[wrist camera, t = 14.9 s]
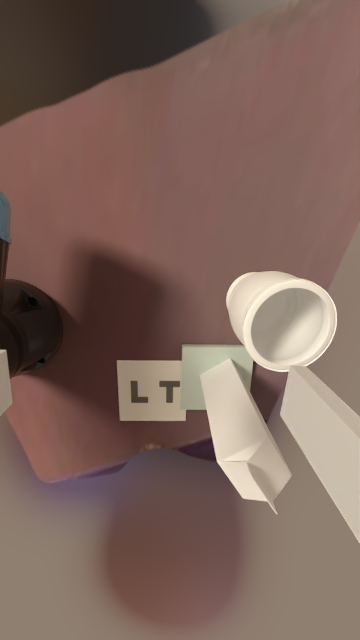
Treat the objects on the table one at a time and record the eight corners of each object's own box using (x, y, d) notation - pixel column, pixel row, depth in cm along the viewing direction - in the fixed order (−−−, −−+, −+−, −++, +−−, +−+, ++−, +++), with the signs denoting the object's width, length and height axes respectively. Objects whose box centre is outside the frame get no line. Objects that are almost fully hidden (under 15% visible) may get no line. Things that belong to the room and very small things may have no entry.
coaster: (180, 406, 49) (180, 409, 48) (182, 344, 45) (182, 346, 45) (246, 406, 49) (247, 409, 48) (252, 345, 46) (254, 347, 45)
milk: (229, 357, 45) (281, 459, 24) (246, 384, 47) (308, 503, 26) (198, 375, 46) (221, 488, 25) (215, 401, 48) (251, 529, 26)
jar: (271, 335, 45) (317, 379, 31) (212, 322, 45) (230, 362, 30) (292, 273, 43) (354, 290, 28) (229, 258, 42) (259, 268, 27)
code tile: (120, 417, 50) (119, 421, 49) (117, 358, 47) (116, 360, 46) (185, 417, 51) (185, 421, 50) (187, 358, 47) (187, 361, 46)
